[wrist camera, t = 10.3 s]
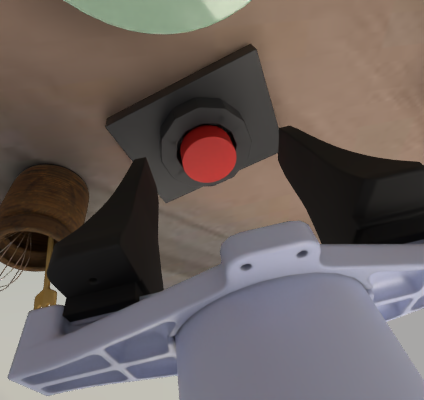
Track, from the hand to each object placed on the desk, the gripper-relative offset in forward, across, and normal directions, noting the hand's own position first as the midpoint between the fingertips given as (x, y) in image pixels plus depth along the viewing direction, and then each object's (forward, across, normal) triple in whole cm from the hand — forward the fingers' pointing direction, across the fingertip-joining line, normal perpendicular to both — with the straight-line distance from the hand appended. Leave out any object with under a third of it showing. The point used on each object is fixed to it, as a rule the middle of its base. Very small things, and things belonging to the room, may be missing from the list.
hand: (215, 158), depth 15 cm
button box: (+9, 0, +3) cm, 9 cm away
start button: (+6, 0, +3) cm, 7 cm away
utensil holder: (+9, +14, +6) cm, 17 cm away
